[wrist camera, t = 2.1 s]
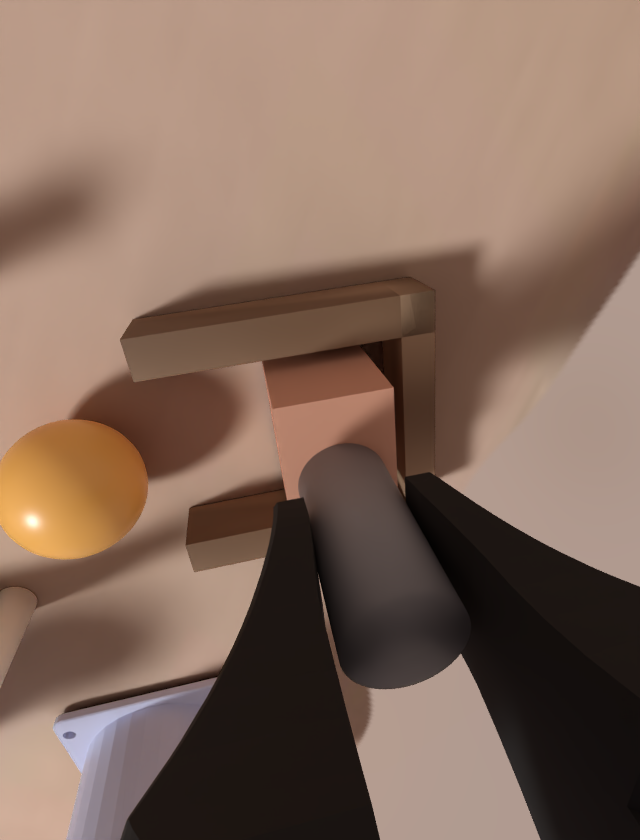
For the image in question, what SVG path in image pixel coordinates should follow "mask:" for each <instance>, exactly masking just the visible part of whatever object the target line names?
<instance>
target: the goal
mask: <svg viewBox="0 0 640 840" xmlns="http://www.w3.org/2000/svg"><path fill="white" fill-rule="evenodd" d="M36 605H37V598H36V596H35V595H34V593H32V592H31V591H30V590H28V589H25V588H22V587H8V588H5V589H3V590H1V591H0V688H1V685H2V683H3V681H4V679H5V676H6V674H7V672H8V669H9V667H10V665H11V663H12V660H13V658H14V656H15V653H16V651H17V649H18V646H19V644H20V642H21V640H22V637H23V635H24V633H25V630H26V628H27V626H28V624H29V621H30V619H31V617H32V614H33V612H34V610H35V608H36Z"/></svg>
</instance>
